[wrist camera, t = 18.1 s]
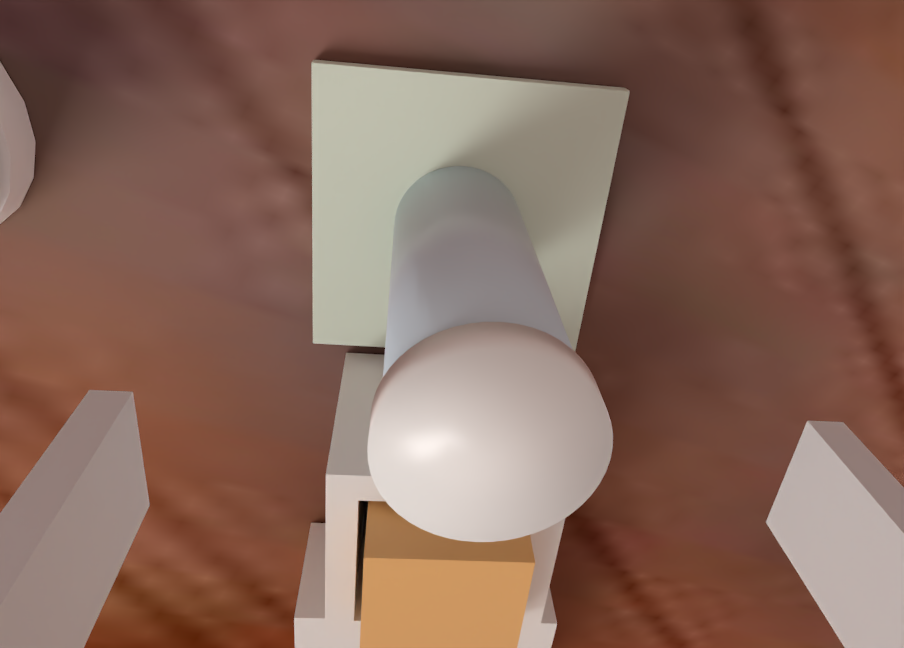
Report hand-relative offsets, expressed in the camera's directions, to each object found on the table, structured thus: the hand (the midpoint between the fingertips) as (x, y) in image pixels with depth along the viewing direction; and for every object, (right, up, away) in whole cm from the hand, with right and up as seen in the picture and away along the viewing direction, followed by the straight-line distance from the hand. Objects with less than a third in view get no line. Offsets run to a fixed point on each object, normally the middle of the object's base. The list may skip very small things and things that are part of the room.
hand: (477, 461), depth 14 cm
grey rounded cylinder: (0, +6, +10) cm, 12 cm away
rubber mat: (0, +6, +11) cm, 13 cm away
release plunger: (-1, -2, +14) cm, 15 cm away
